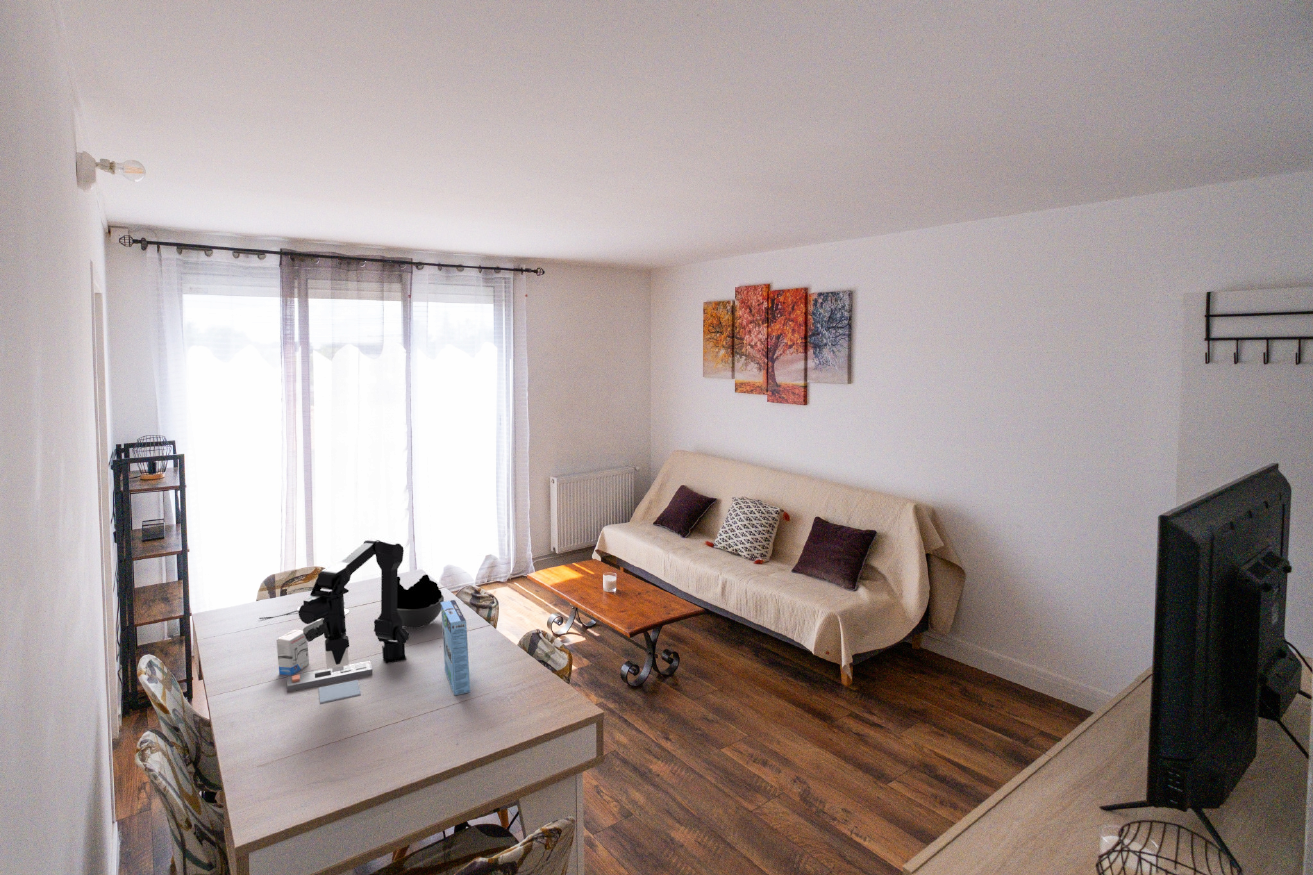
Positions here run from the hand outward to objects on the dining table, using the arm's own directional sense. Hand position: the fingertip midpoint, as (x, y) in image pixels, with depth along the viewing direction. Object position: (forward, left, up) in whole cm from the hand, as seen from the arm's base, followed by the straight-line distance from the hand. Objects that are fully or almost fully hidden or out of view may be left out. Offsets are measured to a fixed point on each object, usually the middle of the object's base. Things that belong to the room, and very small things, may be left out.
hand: (337, 660), depth 212 cm
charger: (0, 0, -3) cm, 3 cm away
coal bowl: (-29, -42, -10) cm, 52 cm away
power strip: (+2, -11, -10) cm, 15 cm away
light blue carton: (-33, +9, -10) cm, 36 cm away
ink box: (+12, -24, -10) cm, 29 cm away
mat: (0, 0, -10) cm, 10 cm away
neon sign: (+8, -75, -11) cm, 76 cm away
